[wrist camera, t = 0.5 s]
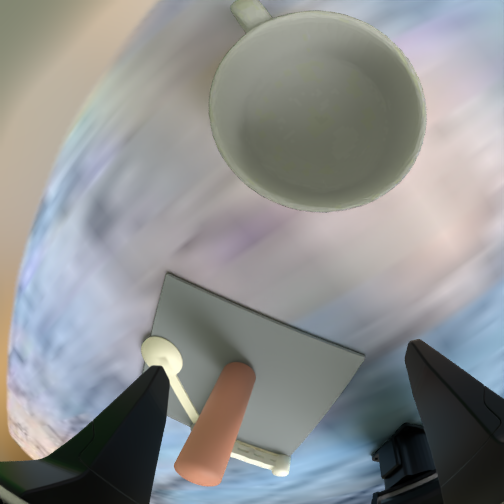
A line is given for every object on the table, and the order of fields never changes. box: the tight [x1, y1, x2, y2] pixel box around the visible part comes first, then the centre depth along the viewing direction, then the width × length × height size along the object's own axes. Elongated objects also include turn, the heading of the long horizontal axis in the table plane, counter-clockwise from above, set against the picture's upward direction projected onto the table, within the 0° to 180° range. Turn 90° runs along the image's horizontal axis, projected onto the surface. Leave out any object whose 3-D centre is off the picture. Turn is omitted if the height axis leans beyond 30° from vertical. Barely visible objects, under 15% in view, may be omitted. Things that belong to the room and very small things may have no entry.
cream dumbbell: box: [230, 442, 291, 476], centre depth 26 cm, size 9×2×2 cm, turn 69°
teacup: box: [209, 0, 427, 213], centre depth 16 cm, size 14×11×8 cm
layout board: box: [141, 273, 365, 457], centre depth 26 cm, size 19×17×1 cm
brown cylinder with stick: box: [174, 362, 256, 486], centre depth 20 cm, size 12×3×11 cm, turn 154°
